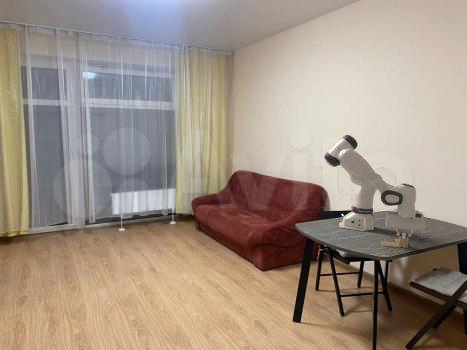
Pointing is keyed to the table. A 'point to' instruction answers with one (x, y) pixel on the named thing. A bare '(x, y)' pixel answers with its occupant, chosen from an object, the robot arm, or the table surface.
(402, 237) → the pin
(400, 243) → the hinge leaves
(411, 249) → the table surface
